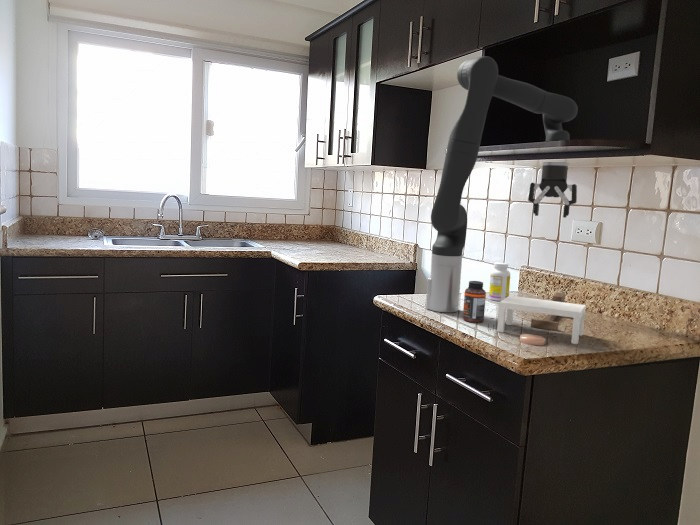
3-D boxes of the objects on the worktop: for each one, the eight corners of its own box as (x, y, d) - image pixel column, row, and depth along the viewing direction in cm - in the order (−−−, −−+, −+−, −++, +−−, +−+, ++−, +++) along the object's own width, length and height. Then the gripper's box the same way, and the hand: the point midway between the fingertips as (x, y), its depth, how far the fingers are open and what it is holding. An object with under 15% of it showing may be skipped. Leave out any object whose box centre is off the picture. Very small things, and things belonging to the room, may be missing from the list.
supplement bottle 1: (458, 318, 163) (461, 280, 162) (476, 318, 165) (479, 280, 163) (469, 323, 157) (472, 283, 156) (487, 322, 159) (490, 283, 158)
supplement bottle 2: (503, 298, 200) (506, 262, 198) (511, 301, 194) (514, 264, 192) (485, 297, 199) (488, 261, 197) (493, 301, 193) (496, 264, 191)
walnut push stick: (530, 326, 157) (532, 305, 156) (547, 309, 182) (549, 291, 181) (557, 330, 153) (559, 309, 153) (570, 312, 179) (572, 294, 178)
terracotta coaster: (542, 347, 136) (543, 341, 136) (517, 343, 139) (517, 337, 139) (546, 342, 141) (547, 336, 141) (522, 338, 144) (523, 332, 144)
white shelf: (496, 331, 149) (499, 302, 148) (507, 323, 160) (509, 295, 159) (577, 344, 140) (580, 312, 139) (582, 334, 150) (585, 305, 149)
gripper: (529, 163, 176) (525, 215, 178) (578, 164, 170) (573, 218, 172) (533, 165, 183) (529, 215, 185) (580, 166, 176) (575, 217, 178)
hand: (550, 216), depth 178 cm, fingers open, 8 cm apart
